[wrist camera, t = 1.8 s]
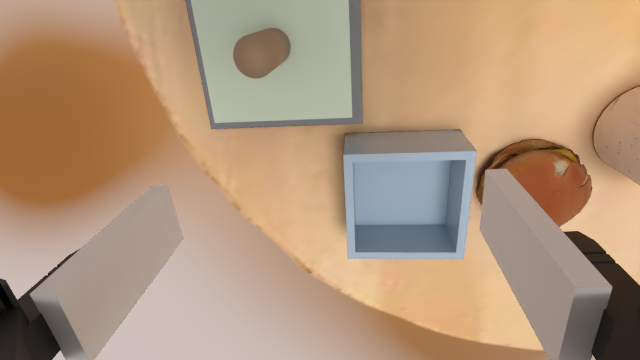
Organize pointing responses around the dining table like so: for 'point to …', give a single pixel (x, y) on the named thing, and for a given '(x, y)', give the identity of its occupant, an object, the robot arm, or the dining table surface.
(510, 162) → the burger
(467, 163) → the open box
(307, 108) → the lid
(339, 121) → the mat
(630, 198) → the dining table surface
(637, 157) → the teacup with lid
